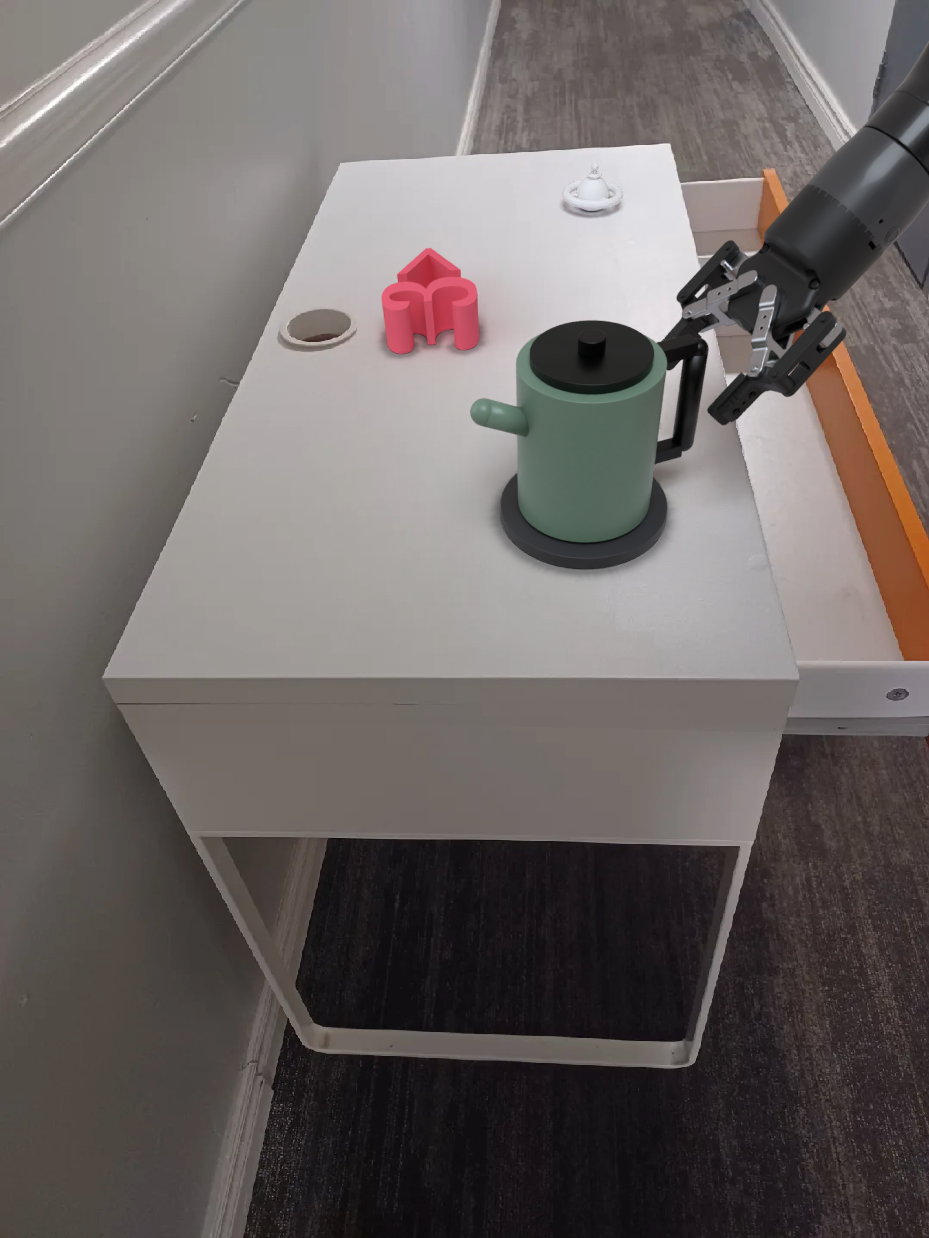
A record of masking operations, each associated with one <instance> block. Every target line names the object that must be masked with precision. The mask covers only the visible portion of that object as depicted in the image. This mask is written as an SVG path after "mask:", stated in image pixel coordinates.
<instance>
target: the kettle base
mask: <svg viewBox="0 0 929 1238" xmlns="http://www.w3.org/2000/svg"><path fill="white" fill-rule="evenodd" d="M499 507H500V521H501V524H502V528H503V530H504V532H505V533H506V535H507V536H508V538H509V540H510V541H511V542H512V543H513V544H514V546H516V547H517V548H519V550H521V551H522V552H524V553H525V554H526V555H529V556H531V557H532V558H534V559H536V560H539V561H541V562H543V563H546V564H550V565H553V566H556V567H561V568H568V569H577V570H593V569H605V568H611V567H614V566H617V565H621V564H625V563H627V562H629V561H632V560H634V559H636V558H638V557H639V556H641V555H643V554H645V553H646V552H648V550H650V549H652V547H653V546H654V545H655V544H656V543H657V542H658V540H659V539H660V538H661V536H662V534H663V532H664V530H665V527H666V523H667V517H668V499H667V497H666V493H665V491H664V489H663V487H662V486H661V484H660V483H659V481H657V479H656V478H655V477H654V476H653V481H652V489H651V497H650V505H649V509H648V512H647V514H646V516H645V518H644V519H643V520H642V522H641V523H640V524H639V525H638V526H636V527H635V528H634V529H632V530H631V531H629V532H628V533H626V534H624V535H622V536H619V537H616V538H613V539H610V540H606V541H599V542H588V543H586V542H571V541H565V540H561V539H557V538H554V537H551V536H549V535H546V534H544V533H542V532H541V531H539V530H537V529H536V528H535V527H533V526H532V525H531V524H530V523H529V522H528V521H527V520H526V519H525V518H524V516H523V515H522V513H521V511H520V508H519V504H518V471H517V472H516V473H515V474H514V475H513V476H512V477H511V478H509V481H508V482H506V484H505V486H504V489H503V491H502V493H501V497H500V506H499Z"/></svg>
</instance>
